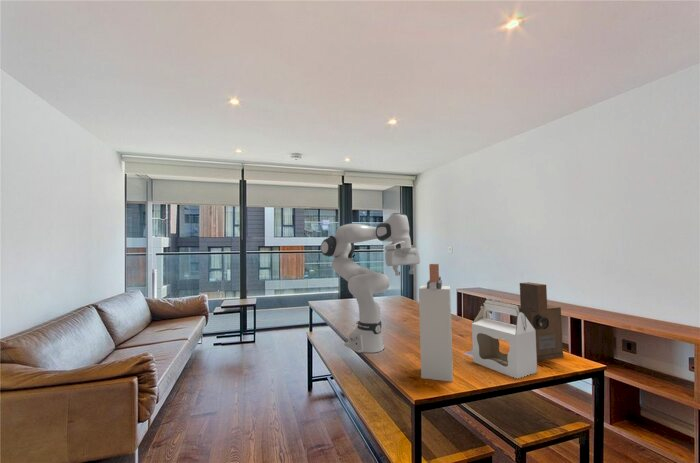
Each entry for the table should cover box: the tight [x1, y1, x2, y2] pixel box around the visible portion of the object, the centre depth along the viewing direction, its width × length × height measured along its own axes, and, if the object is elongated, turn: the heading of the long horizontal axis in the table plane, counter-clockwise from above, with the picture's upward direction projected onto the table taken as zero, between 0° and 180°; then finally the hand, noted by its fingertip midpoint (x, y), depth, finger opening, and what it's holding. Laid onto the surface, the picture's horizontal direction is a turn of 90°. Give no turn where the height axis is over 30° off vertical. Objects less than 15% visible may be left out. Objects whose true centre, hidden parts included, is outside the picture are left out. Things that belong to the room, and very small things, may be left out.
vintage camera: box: [512, 281, 565, 363], centre depth 149 cm, size 19×14×35 cm
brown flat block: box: [429, 263, 442, 291], centre depth 133 cm, size 26×4×10 cm, turn 161°
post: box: [418, 279, 454, 383], centre depth 131 cm, size 10×12×38 cm
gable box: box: [471, 299, 538, 380], centre depth 138 cm, size 22×13×28 cm, turn 28°
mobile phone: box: [464, 349, 473, 358], centre depth 156 cm, size 8×1×15 cm
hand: (404, 274), depth 150 cm, fingers open, 8 cm apart
